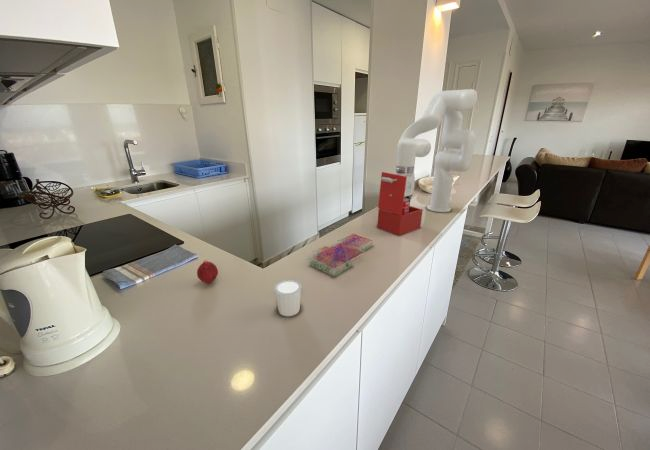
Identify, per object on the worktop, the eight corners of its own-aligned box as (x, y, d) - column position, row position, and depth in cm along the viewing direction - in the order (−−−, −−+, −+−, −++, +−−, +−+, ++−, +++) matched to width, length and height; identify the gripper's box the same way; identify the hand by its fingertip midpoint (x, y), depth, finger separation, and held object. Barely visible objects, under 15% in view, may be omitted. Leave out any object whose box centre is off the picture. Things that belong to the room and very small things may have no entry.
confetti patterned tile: (351, 237, 118) (352, 226, 116) (382, 248, 108) (383, 236, 106) (299, 262, 97) (299, 249, 95) (331, 278, 88) (331, 264, 86)
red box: (398, 220, 138) (400, 203, 135) (420, 227, 129) (422, 209, 125) (377, 227, 129) (378, 209, 126) (398, 235, 120) (401, 216, 117)
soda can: (405, 223, 132) (408, 196, 127) (408, 228, 125) (411, 201, 120) (390, 222, 132) (392, 196, 128) (392, 228, 126) (394, 200, 121)
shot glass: (291, 321, 69) (290, 298, 67) (270, 311, 73) (268, 289, 70) (307, 306, 75) (306, 284, 72) (287, 298, 78) (286, 276, 75)
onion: (223, 279, 87) (219, 257, 84) (210, 289, 82) (206, 265, 79) (208, 276, 89) (204, 254, 86) (194, 285, 84) (190, 262, 81)
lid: (382, 172, 120) (374, 172, 117) (406, 176, 111) (398, 177, 108) (379, 208, 126) (371, 209, 123) (401, 215, 117) (393, 217, 114)
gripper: (399, 173, 112) (394, 215, 118) (424, 169, 121) (419, 207, 128) (384, 170, 117) (381, 210, 123) (409, 166, 127) (405, 203, 133)
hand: (400, 208), depth 126 cm, fingers closed on soda can, 7 cm apart
